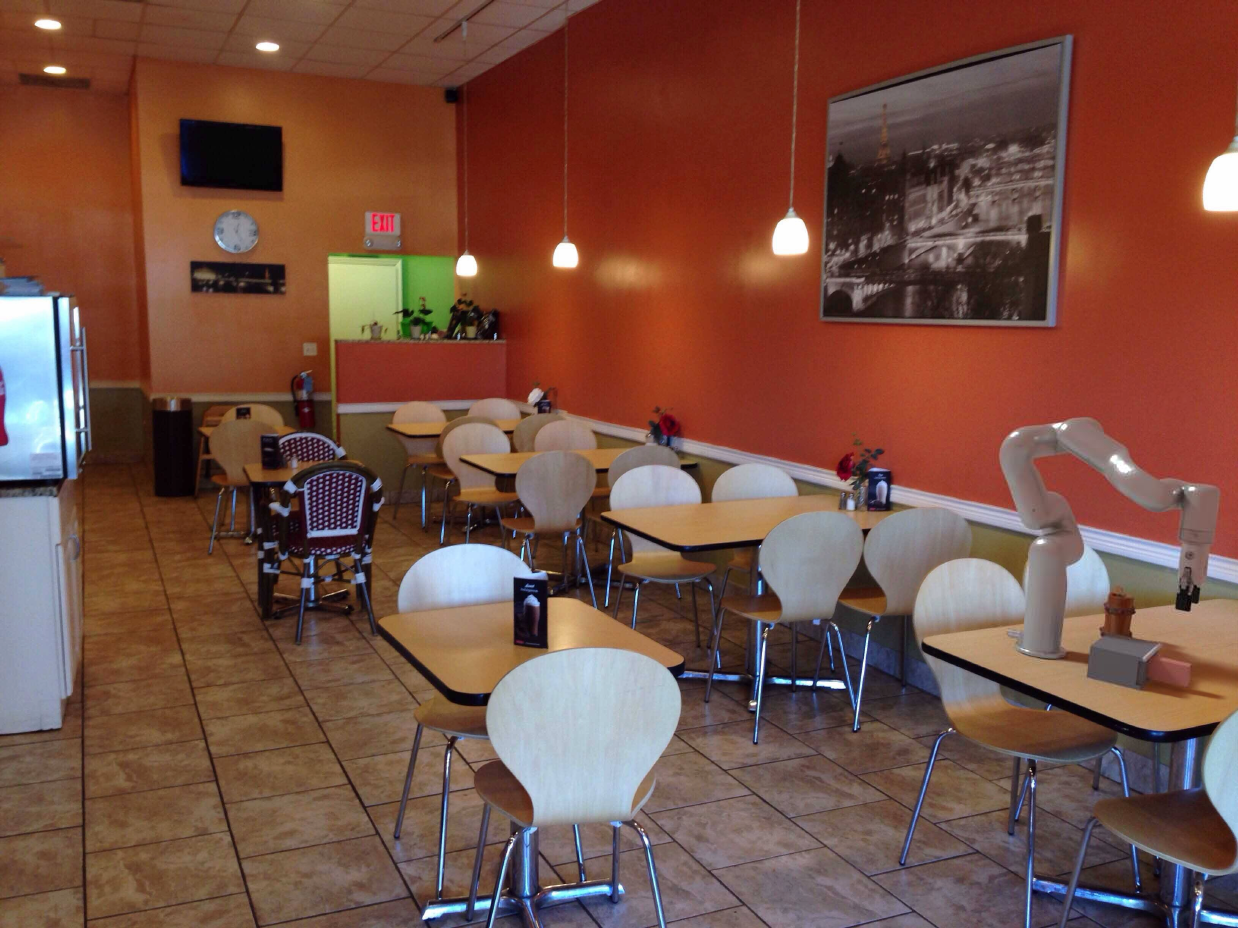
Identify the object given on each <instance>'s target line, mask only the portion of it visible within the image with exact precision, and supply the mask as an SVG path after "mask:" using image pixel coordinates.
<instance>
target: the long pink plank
mask: <svg viewBox="0 0 1238 928" xmlns="http://www.w3.org/2000/svg"><path fill="white" fill-rule="evenodd" d="M1191 670H1192V663H1189V662H1184V661H1180V660H1175V659H1171V658H1166V657H1162V656H1158V655H1157V656H1154V655H1152V656H1151V657H1150V658H1149V664H1148V671H1147V678H1150V680H1155V681H1159V682H1164V683H1168V684H1171V685H1176V686H1180V687H1185V688H1186V687H1187V686H1188V685H1189V684H1190V676H1191Z"/></svg>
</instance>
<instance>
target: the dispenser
mask: <svg viewBox="0 0 1238 928" xmlns="http://www.w3.org/2000/svg"><path fill="white" fill-rule="evenodd" d="M1132 637H1133V636H1132ZM1132 637H1128V636H1123V635H1118V634H1114V633H1109V632H1108V633H1107V634H1106V635H1104V636H1103V637H1100V638H1099V639H1097V640H1096V641H1095V642H1093V643H1092V644H1091V645H1090V647H1089V655H1088V663H1087V671H1086V678H1089V679H1092V680H1098V681H1101V682H1105V683H1109V684H1113V685H1117V686H1121V687H1124V688H1129V689H1133V690H1137V691H1140V690H1141V689H1142V688H1143V687H1145V685H1146V684H1147V683H1148V682H1150V681H1151V679H1150V678H1147V671H1148V664H1149V658H1150V657H1151V656H1152V655H1154V656H1158V653H1159V650H1160V649H1161V648H1162V647H1163V645H1164V644H1163V643H1162V642H1159V643H1158V642H1155V641H1149V640H1147V639H1146V640H1145V639H1141V638H1136V637H1133V638H1132Z"/></svg>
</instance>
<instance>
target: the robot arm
mask: <svg viewBox="0 0 1238 928" xmlns="http://www.w3.org/2000/svg"><path fill="white" fill-rule="evenodd" d="M998 454H999V456H998V457H999V464H1000V468H1001V471H1002V473H1003V475H1004V478H1005V480H1006V482H1007V486H1008V488H1009V490H1010V491H1009V492H1010V494H1011V497H1012V500H1013V502H1014V505H1015V509H1016V510H1017V514H1018V516H1019V519H1020V521H1021V523H1022V524H1023V525H1024V527H1026V528H1027V529H1029V530H1031V531H1040V530H1041V533H1042V535H1039V536H1038V537H1036V538H1035V539H1034V540H1033V542H1031V544H1030V546H1029V549H1028V552H1027V553H1028V554H1027V556H1028V557H1027V558H1028V559H1027V563H1028V577H1027V579H1028V580H1027V581H1028V582H1027V588H1026V590H1027V591H1026V598H1025V599H1026V600H1025V608H1024V609H1025V610H1024V618H1023V628H1022V629H1020V630H1016V629H1013V628H1011V627H1010V628H1007V630H1006V635H1007V637H1008V638H1011V639H1015V640H1017V641H1015V644H1014V648H1015V649H1016V650H1017V651H1018V652H1020V653H1022V654H1025V655H1028V656H1031V657H1036V658H1042V659H1048V660H1049V659H1052V660H1053V659H1062V658H1064V657H1066V656H1067V650H1066V648H1064V647H1063V646H1062V637H1063V631H1064V630H1063V629H1064V622H1065V621H1064V620H1065V613H1066V612H1065V611H1066V604H1067V594H1068V574H1067V573H1068V572H1067V569H1068V568H1067V567H1070V566H1072V565H1075V564H1076V563H1078V562H1079V561H1080V560H1081V559H1082V557H1083V556H1084V554H1085V553H1084V552H1085V544H1084V543H1085V542H1084V539H1083V537H1082V533H1081V530H1080V529H1079V526H1078V524H1077V520H1076V518H1075V516H1074V513H1073V510H1072V509H1071V505H1070V504H1069V502H1068V501H1067V499H1066V498H1065V497H1064V496H1063V495H1061V494H1060V493H1058V492H1055V491H1049V490H1047V488H1046V485H1045V482H1044V480H1043V477H1042V475H1041V473H1040V471H1039V470H1038V467H1036V465H1035V464H1034V459H1037V458H1044V457H1050V456H1056V455H1062V454H1071V455H1072V456H1074V457H1076V458H1077V459H1078V460H1081V461H1082V462H1083V463H1086V464H1087V465H1088V466H1090V467H1091V468H1093V469H1094V470H1096V471H1097V472H1098V473H1100V474H1101V475H1102V476H1103V477H1105V478H1106V480H1107V481H1108V482H1109V483H1110V484H1111V485H1112V486H1113V487H1114V488H1115V489H1116V490H1117V491H1119V492H1120V493H1121V494H1122V495H1124V496H1125V497H1127V499H1130V500H1131V501H1133V502H1135V504H1137V505H1139V506H1140V507H1142V508H1143V509H1145V510H1146V511H1147V510H1148V511H1150V512H1152V513H1153V512H1154V513H1163V512H1167V511H1173V510H1180V516H1179V524H1178V533H1177V538H1176V539H1177V541H1178V542H1180V543H1181V549H1180V554H1179V561H1178V568H1177V569H1178V570H1177V579H1176V581H1177V583H1178V589H1177V592H1176V597H1175V598H1176V599H1175V605H1174V609H1175V610H1177V611H1183V612H1186V613H1187V612H1188V613H1189V612H1191V610H1192V604H1194V605H1195V604H1196V605H1197V604H1199V602H1200V594H1201V586H1202V585H1203V584H1205V582H1207V579H1208V577H1207V576H1208V567H1209V560H1210V559H1209V557H1210V556H1209V555H1210V547H1211V546H1214V544H1215V543H1214V542H1215V537H1216V536H1215V534H1216V527H1217V521H1218V520H1217V519H1218V513H1219V505H1220V500H1221V490H1220V488H1219V487H1217V486H1215V485H1212V484H1207V483H1194V482H1189V481H1185V480H1182V479H1179V478H1172V477H1166V478H1160V479H1158V478H1156V477H1155V476H1152V475H1151V474H1150V473H1149V472H1147V471H1145V470H1144V469H1143V468H1140V466H1138V465H1137V464H1136V463H1135V462H1134V461H1133V459H1132V458H1131V456H1130V452H1129V450H1128V448H1127V446H1125V445H1124V444H1122V443H1120V442H1119V441H1117V440H1115V439H1114V438H1112V437H1111V436H1110V435H1108V434H1106V433H1105V432H1104V428H1103V426H1102V424H1101V423H1100V422H1099V421H1097V420H1096V419H1095V418H1092V417H1087V416H1085V417H1083V416H1082V417H1073V418H1069V419H1067V420H1065V421H1061V422H1060V421H1059V422H1053V423H1048V424H1039V425H1038V424H1037V425H1027V426H1026V425H1025V426H1022V427H1019V428H1017V429H1014V430H1013V431H1011V432H1010V433H1009V434H1008V435H1007V436H1006V437H1005V439H1004V440H1003V442H1002V443H1001V446H1000V448H999V453H998Z"/></svg>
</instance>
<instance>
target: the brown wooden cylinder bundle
mask: <svg viewBox="0 0 1238 928" xmlns="http://www.w3.org/2000/svg"><path fill="white" fill-rule="evenodd" d="M1123 591H1124V590H1123V586H1120V585H1113V587H1112V591H1111V592H1109V593H1108V594H1107V601H1106V602H1104V603H1103V606H1104V611H1105V613H1104V617H1105V618H1104V624H1103V626H1100V627H1099V628H1098V629H1099V632H1100V634H1099V635H1100V638H1102V637H1103V636H1104V635H1106V634H1107V633H1108V632H1109V633H1114V634H1118V635H1123V636H1128V637H1132V638H1134V637H1133V632H1132V631H1131V625H1132V619H1133V615H1135V614H1136V612H1137V611H1136V607H1135V606H1134V600H1135V598H1134V596H1132V595H1131V594H1126V593H1123Z"/></svg>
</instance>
